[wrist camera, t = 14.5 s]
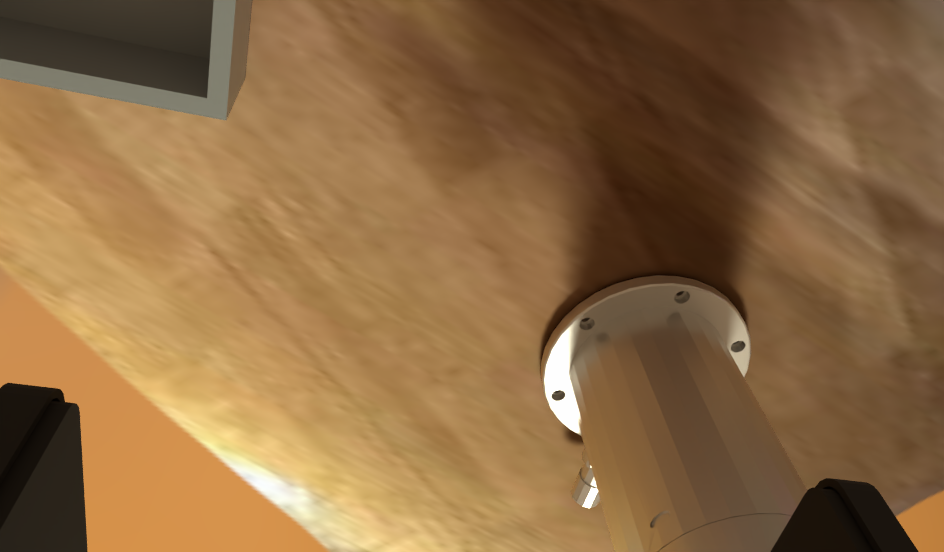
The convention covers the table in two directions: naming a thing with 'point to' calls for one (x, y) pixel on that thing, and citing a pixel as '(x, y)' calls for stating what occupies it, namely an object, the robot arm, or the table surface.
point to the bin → (131, 50)
